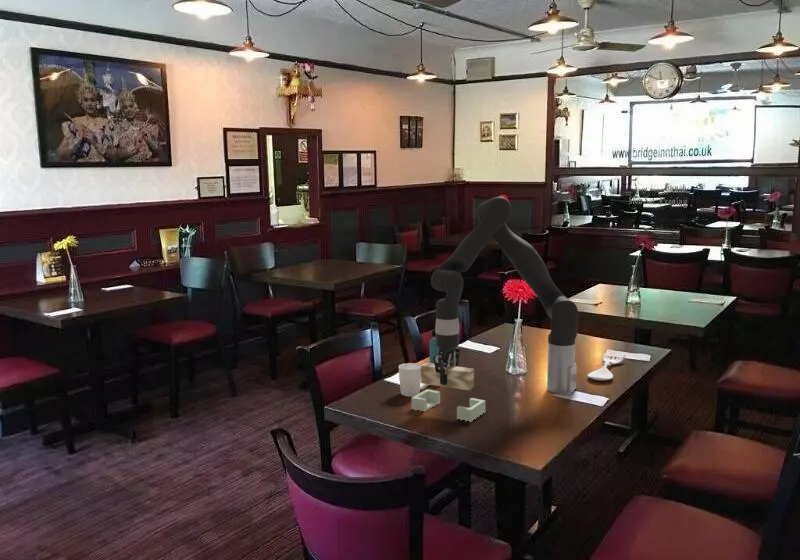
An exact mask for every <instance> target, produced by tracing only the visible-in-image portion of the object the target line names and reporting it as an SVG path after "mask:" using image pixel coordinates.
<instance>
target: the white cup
mask: <svg viewBox="0 0 800 560" xmlns="http://www.w3.org/2000/svg"><path fill="white" fill-rule="evenodd" d="M421 365H422V364H419V363H415V362H408V363H402V364H399V365H398V377H399V387H400V394H401V396H404V397H414V396H416V395H418V394H420V393H421Z"/></svg>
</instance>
